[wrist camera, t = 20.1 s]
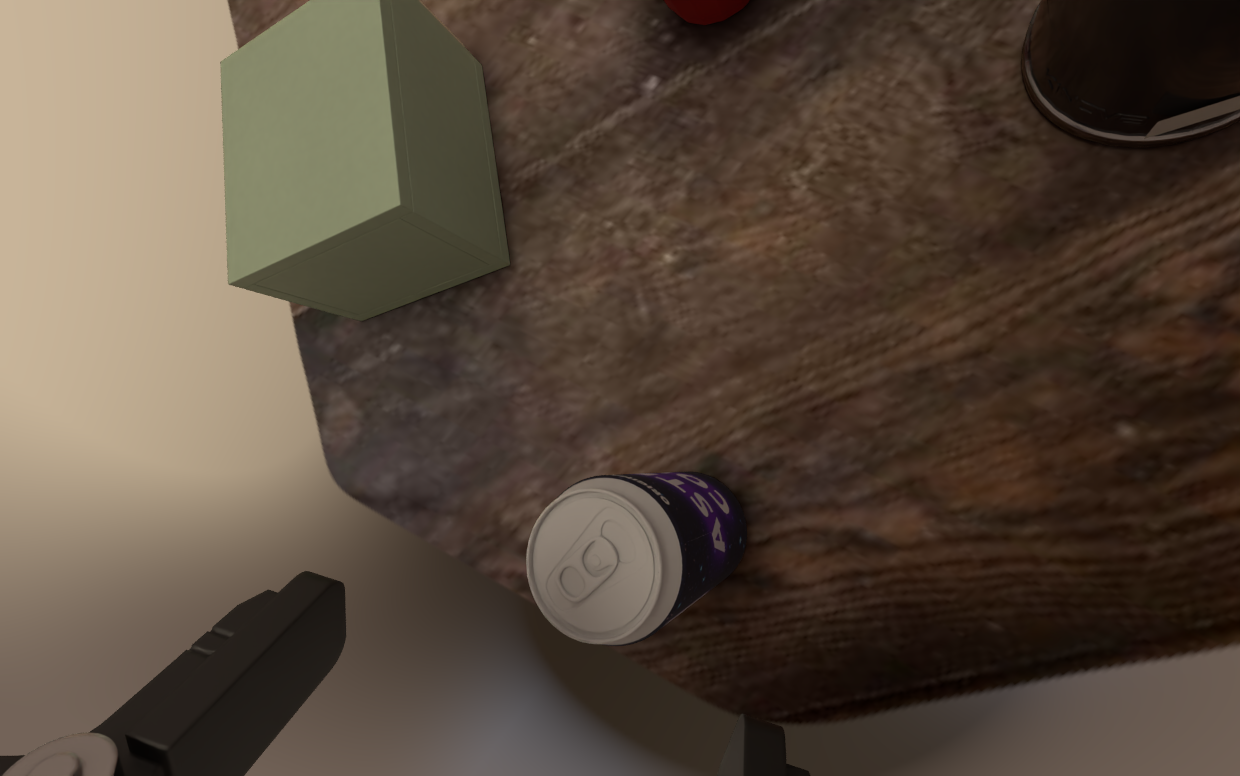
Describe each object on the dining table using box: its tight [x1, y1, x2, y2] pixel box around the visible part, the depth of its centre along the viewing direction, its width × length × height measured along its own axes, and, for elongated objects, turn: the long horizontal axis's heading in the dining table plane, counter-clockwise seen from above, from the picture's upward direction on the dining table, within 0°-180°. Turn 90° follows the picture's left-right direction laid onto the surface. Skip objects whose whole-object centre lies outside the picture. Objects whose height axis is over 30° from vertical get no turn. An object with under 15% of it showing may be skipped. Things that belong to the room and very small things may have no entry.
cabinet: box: [220, 0, 510, 321], centre depth 36 cm, size 15×13×9 cm
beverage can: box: [526, 472, 747, 646], centre depth 24 cm, size 6×6×12 cm
